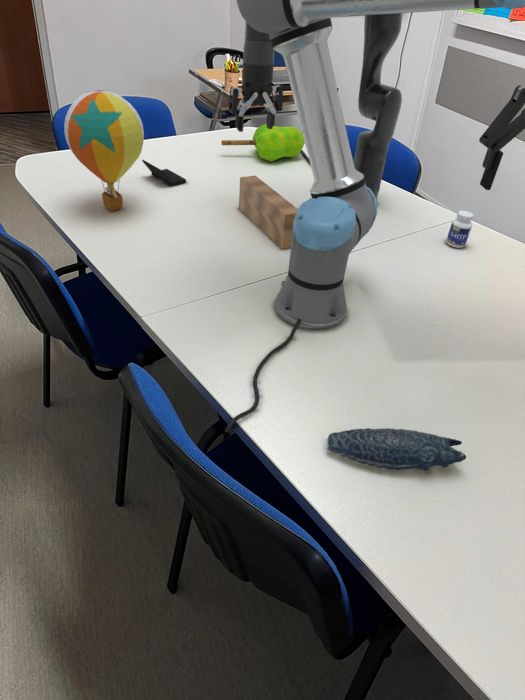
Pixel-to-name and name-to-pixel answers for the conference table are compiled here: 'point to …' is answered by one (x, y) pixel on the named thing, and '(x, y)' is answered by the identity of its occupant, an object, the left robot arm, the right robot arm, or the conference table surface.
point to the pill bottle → (460, 229)
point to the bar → (267, 210)
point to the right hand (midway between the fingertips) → (254, 129)
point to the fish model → (395, 448)
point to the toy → (105, 138)
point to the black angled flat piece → (165, 175)
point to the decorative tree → (274, 142)
